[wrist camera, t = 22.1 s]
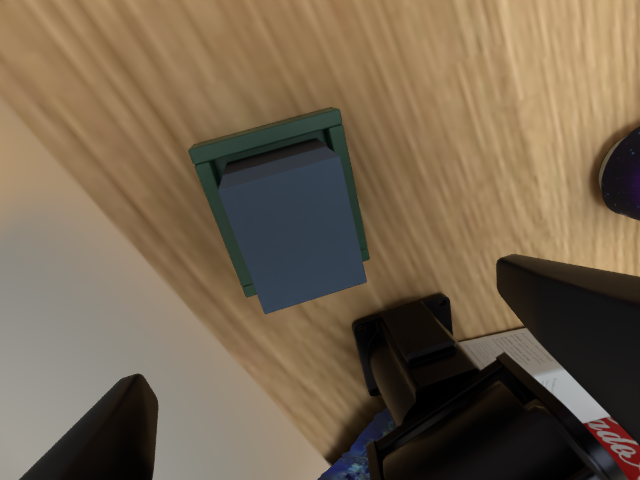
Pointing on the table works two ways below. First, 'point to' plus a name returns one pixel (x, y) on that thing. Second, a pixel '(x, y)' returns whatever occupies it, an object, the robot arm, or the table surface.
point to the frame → (261, 139)
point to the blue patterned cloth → (360, 451)
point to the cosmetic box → (536, 369)
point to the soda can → (617, 445)
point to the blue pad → (294, 227)
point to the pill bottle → (622, 176)
